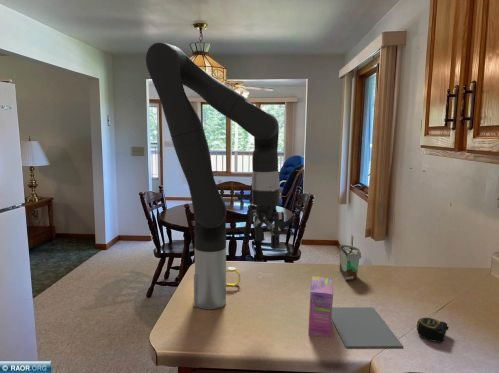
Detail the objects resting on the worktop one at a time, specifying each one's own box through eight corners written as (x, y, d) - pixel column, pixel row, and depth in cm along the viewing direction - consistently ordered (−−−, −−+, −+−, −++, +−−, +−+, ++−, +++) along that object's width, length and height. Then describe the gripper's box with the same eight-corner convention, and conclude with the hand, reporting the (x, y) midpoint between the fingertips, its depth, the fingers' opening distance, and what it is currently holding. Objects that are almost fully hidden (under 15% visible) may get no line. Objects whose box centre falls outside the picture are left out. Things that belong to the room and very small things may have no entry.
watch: (221, 286, 124) (222, 269, 123) (222, 283, 127) (222, 266, 126) (240, 287, 124) (240, 269, 123) (240, 283, 127) (240, 266, 126)
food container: (364, 283, 128) (366, 255, 127) (346, 283, 129) (348, 255, 127) (354, 270, 141) (356, 244, 139) (338, 269, 141) (339, 244, 139)
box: (331, 338, 94) (333, 293, 92) (308, 335, 95) (309, 291, 93) (330, 318, 104) (332, 277, 102) (309, 316, 105) (311, 275, 103)
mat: (345, 347, 90) (345, 346, 90) (325, 308, 109) (326, 307, 109) (403, 347, 90) (403, 345, 90) (373, 308, 110) (373, 307, 110)
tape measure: (442, 347, 91) (444, 333, 90) (413, 337, 95) (414, 323, 94) (448, 335, 96) (449, 321, 96) (419, 326, 100) (420, 313, 100)
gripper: (241, 185, 106) (242, 240, 109) (268, 192, 94) (269, 253, 97) (263, 182, 110) (264, 235, 113) (292, 189, 98) (292, 248, 100)
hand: (266, 244), depth 105 cm, fingers open, 8 cm apart
